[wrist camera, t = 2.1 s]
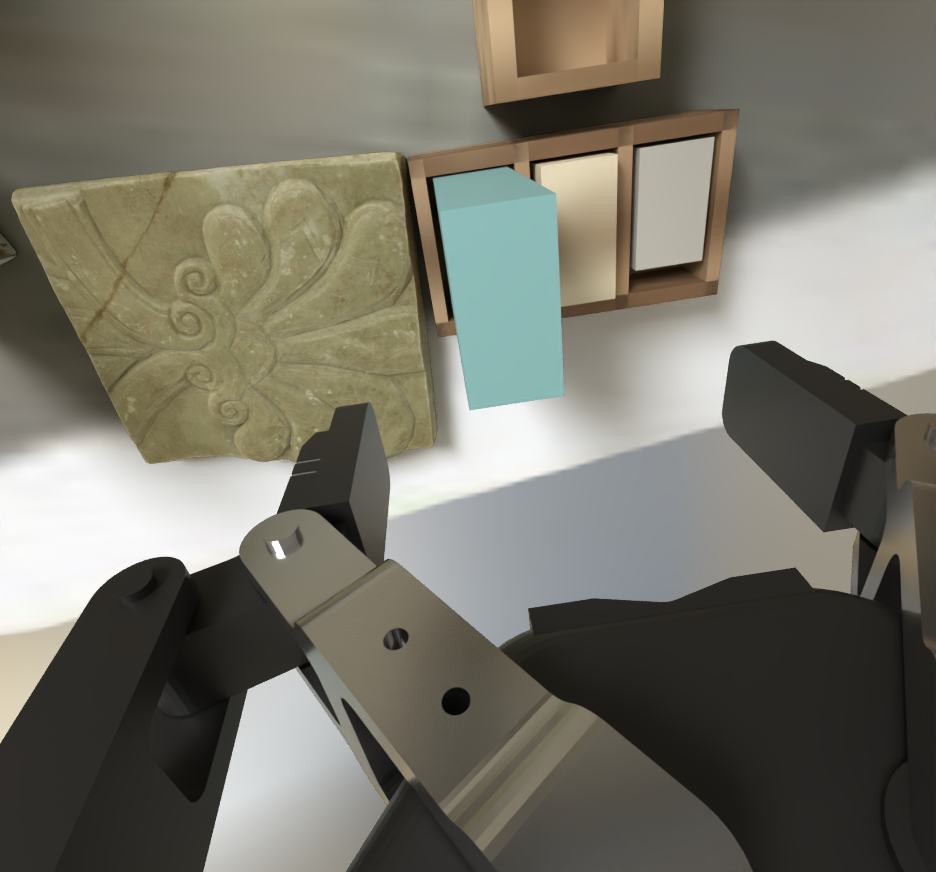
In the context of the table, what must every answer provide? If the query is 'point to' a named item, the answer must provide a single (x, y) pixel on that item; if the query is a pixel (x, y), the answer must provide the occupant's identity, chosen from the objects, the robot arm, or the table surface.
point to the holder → (565, 45)
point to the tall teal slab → (503, 283)
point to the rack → (617, 140)
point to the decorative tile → (244, 301)
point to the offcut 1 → (583, 222)
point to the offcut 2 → (669, 201)
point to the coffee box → (6, 250)
